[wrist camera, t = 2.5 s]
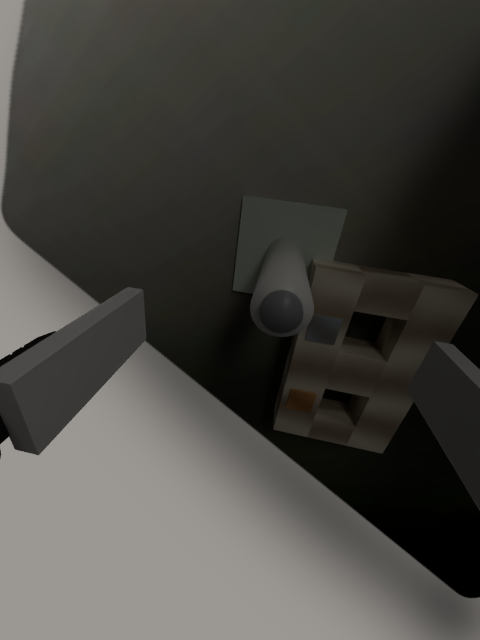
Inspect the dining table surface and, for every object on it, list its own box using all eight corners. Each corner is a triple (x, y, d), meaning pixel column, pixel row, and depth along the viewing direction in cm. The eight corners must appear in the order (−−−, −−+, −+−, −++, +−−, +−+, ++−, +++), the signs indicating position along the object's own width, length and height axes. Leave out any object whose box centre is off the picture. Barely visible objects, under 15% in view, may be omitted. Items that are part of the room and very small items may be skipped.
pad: (243, 194, 25) (243, 195, 25) (346, 209, 24) (347, 209, 24) (233, 289, 30) (232, 290, 30) (319, 304, 29) (319, 305, 29)
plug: (270, 234, 26) (253, 277, 13) (305, 239, 26) (322, 289, 13) (264, 268, 28) (244, 335, 15) (297, 273, 28) (305, 347, 15)
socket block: (312, 257, 27) (316, 269, 23) (452, 280, 26) (480, 295, 22) (274, 406, 37) (273, 430, 34) (373, 427, 36) (382, 455, 32)
